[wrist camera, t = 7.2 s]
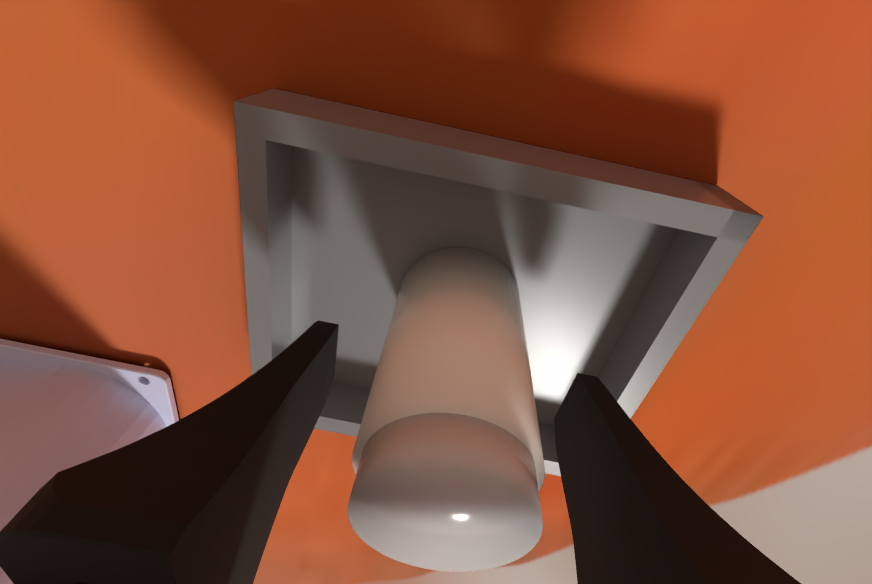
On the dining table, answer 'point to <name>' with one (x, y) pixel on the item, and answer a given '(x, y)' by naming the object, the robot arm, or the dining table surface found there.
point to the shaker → (451, 423)
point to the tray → (469, 244)
